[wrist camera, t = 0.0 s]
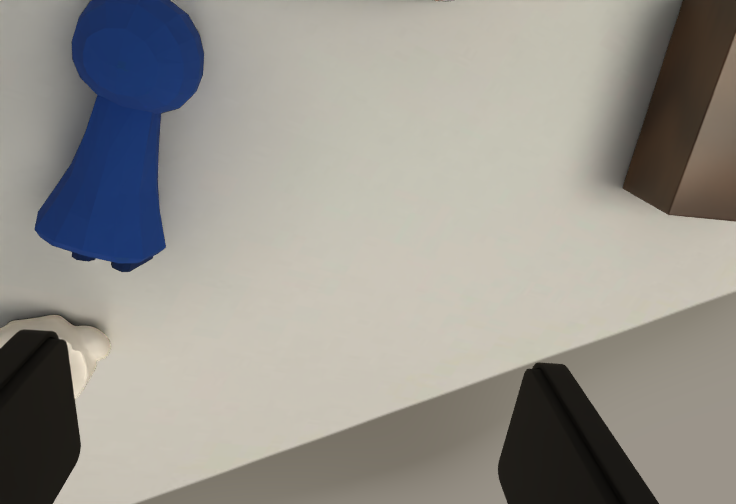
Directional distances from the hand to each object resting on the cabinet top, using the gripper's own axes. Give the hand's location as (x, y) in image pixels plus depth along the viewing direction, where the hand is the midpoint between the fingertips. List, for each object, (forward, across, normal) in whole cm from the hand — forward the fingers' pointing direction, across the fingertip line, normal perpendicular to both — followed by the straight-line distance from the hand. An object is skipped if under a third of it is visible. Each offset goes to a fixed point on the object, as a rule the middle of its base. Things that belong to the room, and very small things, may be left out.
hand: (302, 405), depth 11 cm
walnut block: (+22, -23, -5) cm, 33 cm away
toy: (+22, +11, 0) cm, 25 cm away
